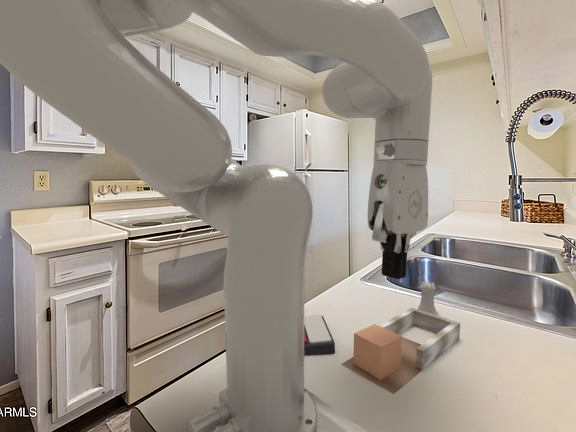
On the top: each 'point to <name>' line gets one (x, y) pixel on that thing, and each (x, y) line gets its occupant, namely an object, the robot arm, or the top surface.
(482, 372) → the top surface
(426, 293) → the rook chess piece
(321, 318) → the calculator
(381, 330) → the block
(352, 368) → the metal sorting tray
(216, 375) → the top surface
